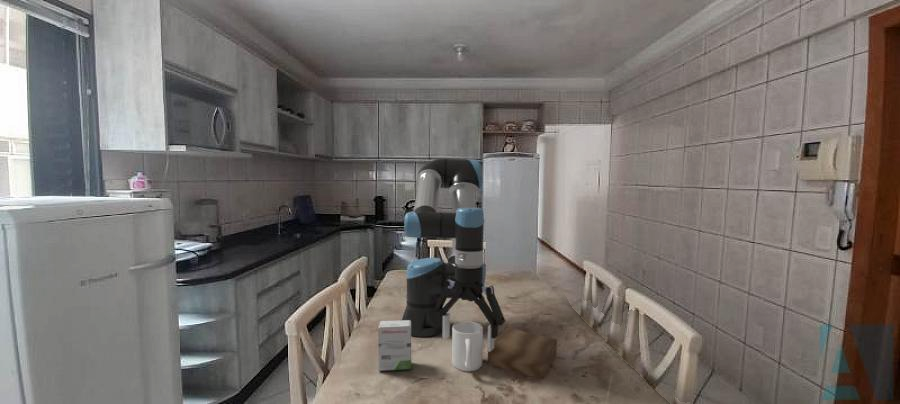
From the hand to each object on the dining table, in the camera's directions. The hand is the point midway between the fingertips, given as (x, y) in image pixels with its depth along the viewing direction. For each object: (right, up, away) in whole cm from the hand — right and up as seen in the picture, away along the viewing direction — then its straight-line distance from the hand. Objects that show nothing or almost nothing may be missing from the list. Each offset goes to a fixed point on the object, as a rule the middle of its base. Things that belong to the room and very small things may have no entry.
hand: (467, 343), depth 95 cm
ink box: (-19, -6, -1) cm, 20 cm away
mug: (0, -6, -1) cm, 6 cm away
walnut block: (+16, -6, +4) cm, 18 cm away
